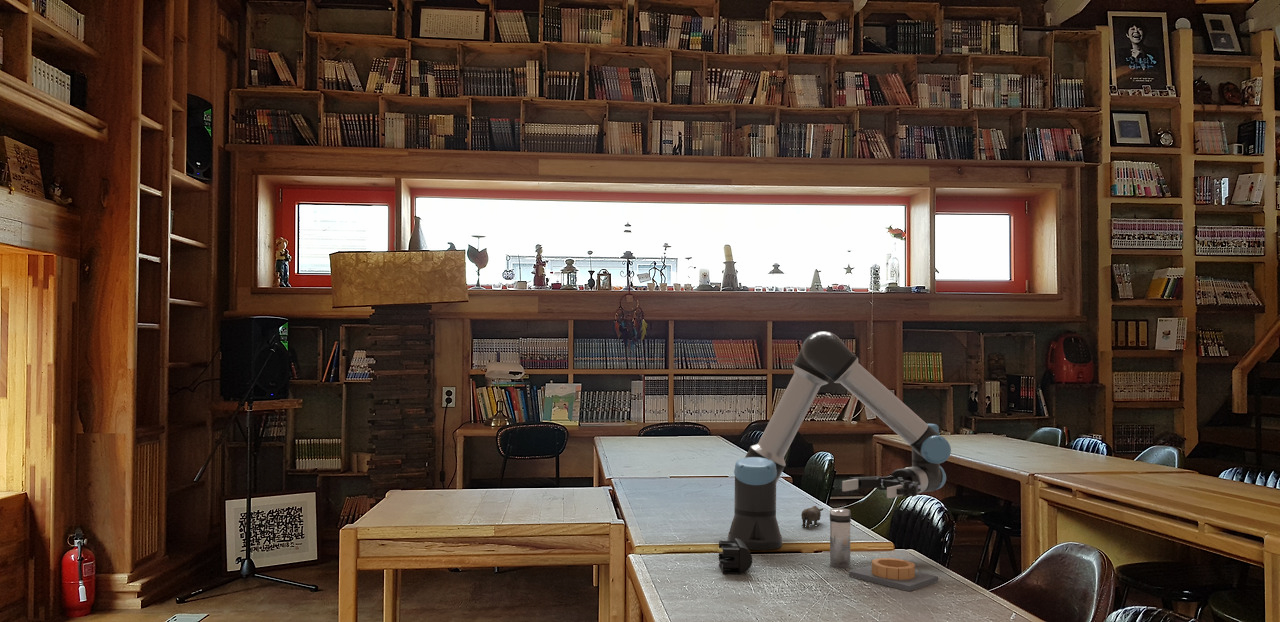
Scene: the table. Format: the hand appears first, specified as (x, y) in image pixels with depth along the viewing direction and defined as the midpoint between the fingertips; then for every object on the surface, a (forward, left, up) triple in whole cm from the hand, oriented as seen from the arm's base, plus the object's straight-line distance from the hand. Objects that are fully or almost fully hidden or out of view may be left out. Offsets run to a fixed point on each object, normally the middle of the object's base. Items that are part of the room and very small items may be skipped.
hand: (865, 489), depth 213 cm
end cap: (-14, -35, -18) cm, 42 cm away
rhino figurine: (-35, +25, -19) cm, 47 cm away
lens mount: (+15, -11, -18) cm, 26 cm away
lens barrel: (0, -11, -18) cm, 21 cm away
